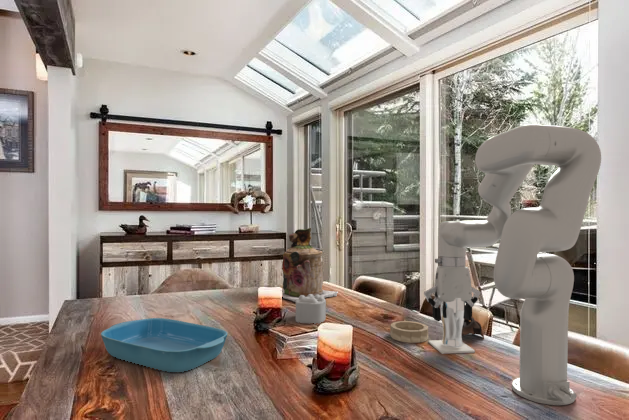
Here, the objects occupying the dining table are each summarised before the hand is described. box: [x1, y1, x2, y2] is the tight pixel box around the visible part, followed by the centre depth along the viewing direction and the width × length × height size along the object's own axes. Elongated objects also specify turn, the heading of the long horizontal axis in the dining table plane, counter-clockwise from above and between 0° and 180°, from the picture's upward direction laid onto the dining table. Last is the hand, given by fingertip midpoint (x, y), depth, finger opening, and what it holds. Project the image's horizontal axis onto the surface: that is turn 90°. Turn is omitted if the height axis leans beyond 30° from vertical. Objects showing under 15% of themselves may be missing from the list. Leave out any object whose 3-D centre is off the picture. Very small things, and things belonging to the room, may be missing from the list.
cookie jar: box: [281, 227, 339, 303], centre depth 198 cm, size 25×25×32 cm
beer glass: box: [440, 298, 466, 349], centre depth 127 cm, size 7×7×15 cm
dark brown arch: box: [462, 316, 485, 340], centre depth 138 cm, size 12×10×8 cm
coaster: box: [427, 339, 476, 355], centre depth 127 cm, size 10×10×1 cm
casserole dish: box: [100, 317, 229, 373], centre depth 118 cm, size 37×22×7 cm, turn 63°
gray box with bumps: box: [295, 294, 327, 325], centre depth 158 cm, size 10×13×9 cm
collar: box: [389, 320, 429, 344], centre depth 137 cm, size 12×12×4 cm
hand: (452, 319), depth 126 cm, fingers open, 9 cm apart
